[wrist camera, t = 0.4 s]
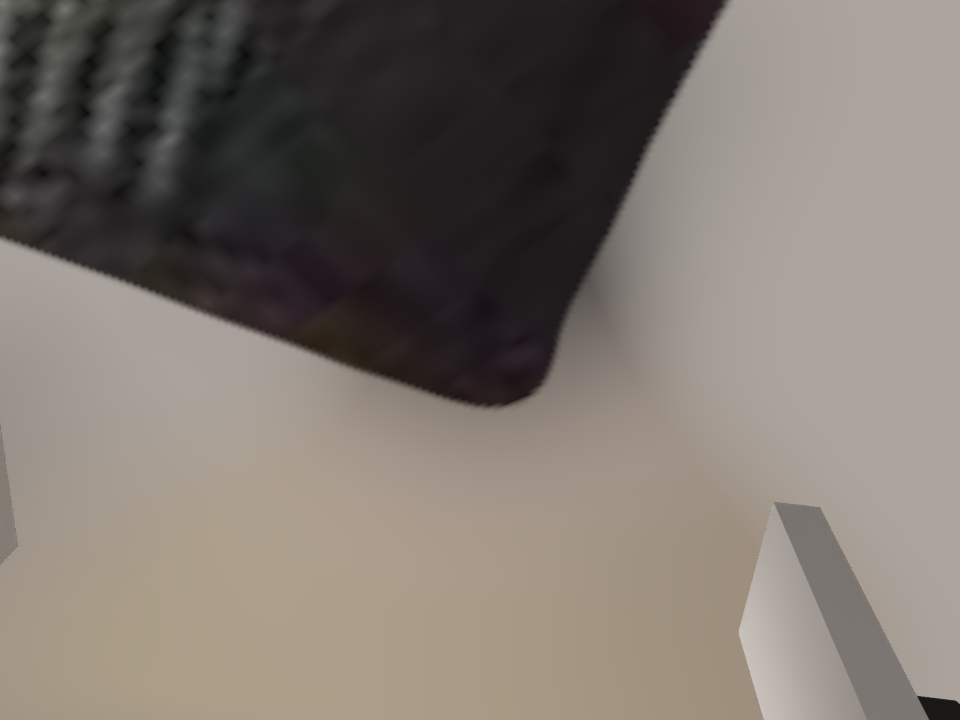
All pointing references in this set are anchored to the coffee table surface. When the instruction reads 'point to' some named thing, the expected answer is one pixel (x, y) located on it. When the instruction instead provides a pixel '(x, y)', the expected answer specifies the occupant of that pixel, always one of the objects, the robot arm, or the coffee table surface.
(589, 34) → the coffee table surface
